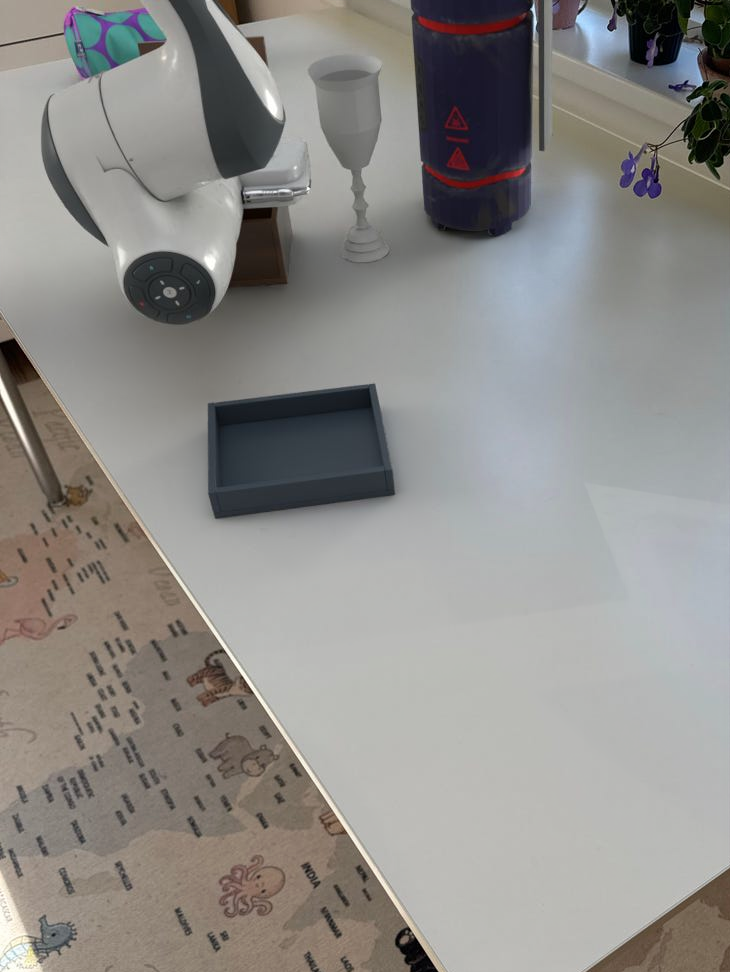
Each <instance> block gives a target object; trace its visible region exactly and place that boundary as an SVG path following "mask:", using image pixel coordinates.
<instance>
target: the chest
mask: <svg viewBox="0 0 730 972" xmlns="http://www.w3.org/2000/svg"><path fill="white" fill-rule="evenodd" d="M292 239H293V227H292V221H291V215H290V208H289V206H283V207H268V208H249V209H244V210H243V216H242V222H241V227H240V233H239V237H238V240H237V243H236V256H235V262H234V267H233V272H232V276H231V279H230V282H229V285H228V288H229V287H230V288H231V287H249V286H267V285H282V284H288V281H289V280H288V279H289V270H290V269H289V268H290V259H291V251H292V250H291V249H292Z"/></svg>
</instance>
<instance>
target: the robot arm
mask: <svg viewBox="0 0 730 972" xmlns="http://www.w3.org/2000/svg"><path fill="white" fill-rule="evenodd" d="M139 2H140V3H141V4H142V6H143V8H145V9H146V10H147V11H148V13H149V14H150V16H151V17H152V18H153V20H154V21H155V23H156V24H157V25H158V27H159V28H160V30H161V31H162V32H163V34H164V35H165V37H166V39H167V40H166V42H165V44H164V45H163V46H161V47H160V48H158V49H156V50H153V51H151V52H149V53H147V54H144V55H142V56H140V57H138V58H136V59H133V60H131V61H129V62H127V63H124V64H122V65H120V66H118V67H115V68H113V69H111V70H109V71H103V72H100V73H98V74H96V75H94V76H91V77H89V78H87V79H85V80H83V79H82V80H81V81H78V82H77V83H74V84H72V85H70V86H67V87H65V88H64V89H61V90H60V91H58V92H56V93H52V94H50V95H49V97H48V98H47V101H46V102H45V105H44V108H43V113H42V117H41V125H40V127H41V128H40V150H41V158H42V163H43V167H44V171H45V174H46V176H47V178H48V180H49V182H50V184H51V186H52V188H53V190H54V191H55V194H56V195H57V197H58V198H59V200H60V201H61V203H62V205H63V207H64V208H65V209H66V211H68V213H69V214H70V215H71V216H72V217H73V219H74V220H75V221H76V222H77V223H78V224H79V225H80V226H81V228H83V229H84V230H85V231H86V232H87V233H89V234H90V235H91V236H92V237H94V238H95V239H97V241H99V242H100V243H102V244H103V245H105V246H106V247H108V249H109V250H110V252H111V255H112V258H113V263H114V266H115V270H116V271H115V272H116V277H117V281H118V285H119V287H120V290H121V292H122V295H123V296H124V298H125V299H126V301H127V302H128V303H129V305H130V306H131V307H132V308H133V309H134V311H136V312H137V313H139V315H142V316H143V317H144V318H147V319H148V320H151V321H154V322H157V323H161V324H166V325H173V326H179V325H187V324H191V323H195V322H197V321H200V320H202V319H204V318H206V317H208V316H209V315H210V314H211V313H212V312H214V310H215V309H216V308H217V307H218V306H219V304H220V303H221V302H222V300H223V298H224V297H225V295H226V292H227V290H228V288H229V287H228V285H229V282H230V279H231V276H232V272H233V267H234V262H235V256H236V243H237V240H238V237H239V233H240V227H241V222H242V216H243V210H244V209H249V208H268V207H283V206H288V207H289V206H292V205H295V204H298V203H299V202H300V201H301V200H302V199H303V198H304V196H307V195H308V194H310V192H311V188H312V179H311V178H312V168H311V167H312V165H311V159H310V158H311V157H310V152H309V147H308V146H309V145H308V142H307V141H306V140H305V139H302V138H300V137H298V136H285V137H283V136H282V135H283V133H284V129H285V125H286V121H287V118H286V111H285V108H284V104H283V100H282V96H281V93H280V90H279V87H278V85H277V83H276V80H275V78H274V76H273V74H272V72H271V70H270V69H268V68H269V66H268V67H267V66H266V64H265V63H264V61H263V60H262V58H261V57H260V56H259V54H258V53H257V52H256V51H255V49H254V48H253V47H252V46H251V44H250V43H249V41H248V40H247V39H246V37H247V36H245V34H244V33H243V31H241V30H240V28H239V27H238V26H237V25H236V23H235V22H234V20H233V19H232V17H230V15H229V14H228V13H227V11H226V10H225V8H223V6H222V5H221V4H220V2H219V0H139Z"/></svg>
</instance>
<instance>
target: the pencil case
mask: <svg viewBox="0 0 730 972" xmlns="http://www.w3.org/2000/svg"><path fill="white" fill-rule="evenodd" d="M63 36H64V39H65V43H66V47H67V49H68V52H69V55H70V57H71V59H72V62H73V64H74V66H75V68H76V71H77V73H78V74H79V76H80V77H81V78H82V81H83V80H85V79H87V78H89V77H91V76H94V75H96V74H98V73H100V72H103V71H109V70H111V69H113V68H115V67H118V66H120V65H122V64H124V63H127V62H129V61H131V60H133V59H136V58H138V57H140V55H139V50H138V45H137V43H138V42H149V41H166V40H167V39H166V37H165V35H164V34H163V32H162V31H161V30H160V28H159V27H158V25H157V24H156V23H155V21H154V20H153V18H152V17H151V16H150V14H149V13H148V11H147V10H146V9H145V7H140V8H136V9H129V10H124V11H114V12H104V11H102V10H101V11H100V10H97V9H92V8H85V9H84V6H83V5H80V4H77V5H76V6H72V7H71V8H70V9H69V11H67V12H66V14H65V17H64V20H63Z"/></svg>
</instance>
